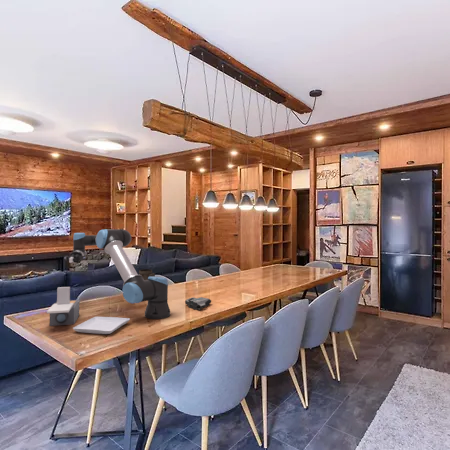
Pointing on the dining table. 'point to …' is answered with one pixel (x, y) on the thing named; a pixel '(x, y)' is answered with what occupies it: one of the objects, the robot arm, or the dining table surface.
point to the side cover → (62, 301)
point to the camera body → (65, 315)
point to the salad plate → (101, 325)
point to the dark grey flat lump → (197, 302)
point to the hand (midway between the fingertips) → (70, 260)
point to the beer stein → (146, 273)
